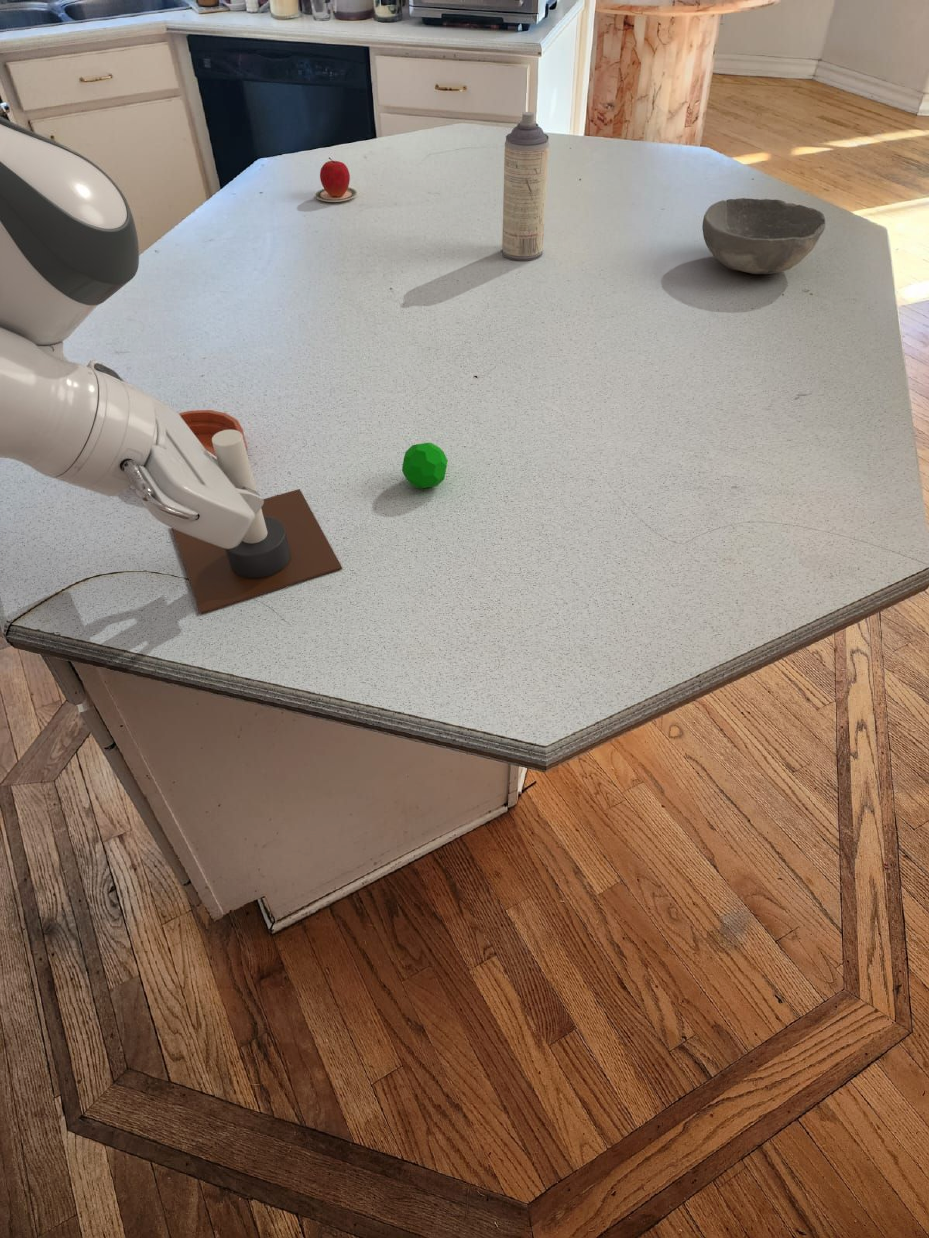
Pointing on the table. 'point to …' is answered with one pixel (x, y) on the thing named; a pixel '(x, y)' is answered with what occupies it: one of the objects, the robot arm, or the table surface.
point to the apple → (335, 183)
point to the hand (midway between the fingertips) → (249, 493)
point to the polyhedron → (424, 465)
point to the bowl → (761, 234)
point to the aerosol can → (524, 190)
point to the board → (225, 587)
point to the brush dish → (210, 425)
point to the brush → (266, 536)
